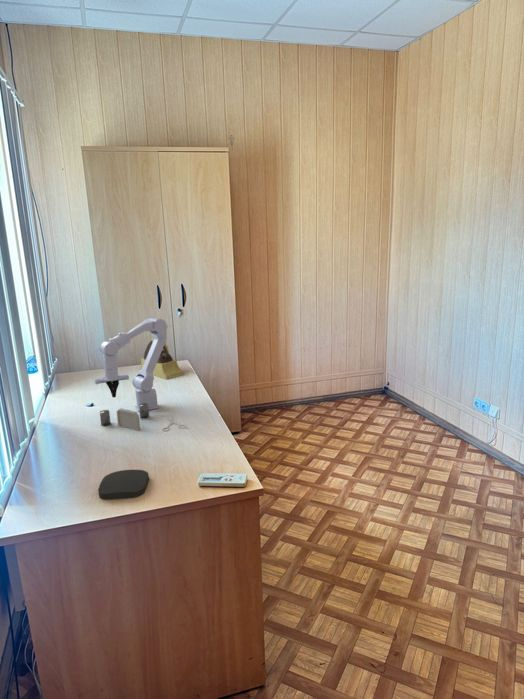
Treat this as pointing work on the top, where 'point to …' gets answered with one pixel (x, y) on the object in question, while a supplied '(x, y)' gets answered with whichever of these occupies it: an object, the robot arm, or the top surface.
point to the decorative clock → (163, 364)
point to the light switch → (128, 419)
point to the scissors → (173, 423)
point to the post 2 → (144, 411)
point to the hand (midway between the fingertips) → (114, 396)
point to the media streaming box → (123, 484)
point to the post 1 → (105, 417)
